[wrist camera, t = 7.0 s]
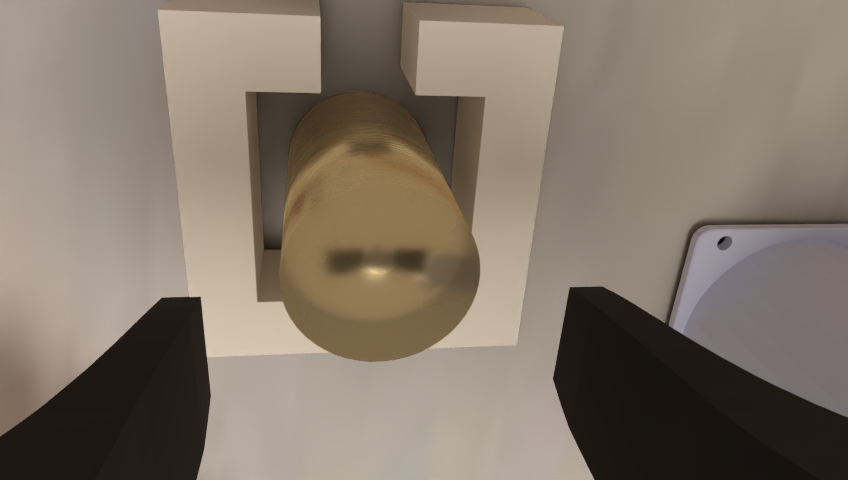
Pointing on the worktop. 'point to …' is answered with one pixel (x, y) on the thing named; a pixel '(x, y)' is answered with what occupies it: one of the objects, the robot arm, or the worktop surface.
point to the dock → (301, 73)
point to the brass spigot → (372, 233)
